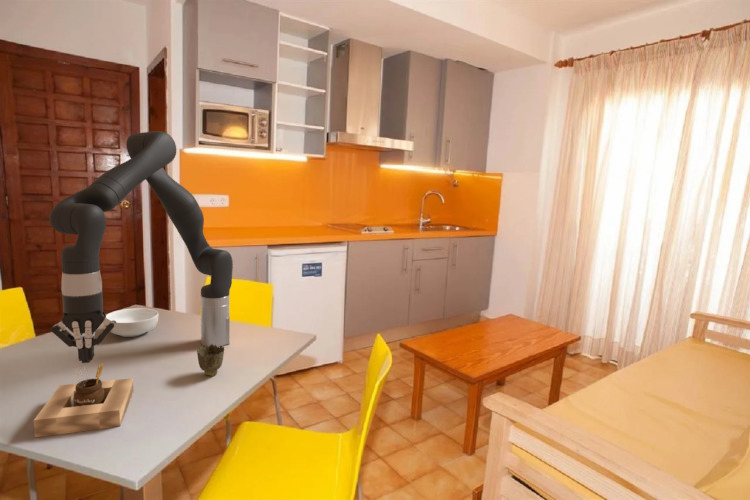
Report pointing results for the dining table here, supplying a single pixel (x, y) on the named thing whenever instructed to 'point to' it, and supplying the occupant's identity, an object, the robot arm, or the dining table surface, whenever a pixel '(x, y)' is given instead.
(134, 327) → the cereal bowl
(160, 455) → the dining table surface
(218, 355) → the cup
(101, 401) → the utensil holder
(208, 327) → the robot arm
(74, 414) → the oak socket block
